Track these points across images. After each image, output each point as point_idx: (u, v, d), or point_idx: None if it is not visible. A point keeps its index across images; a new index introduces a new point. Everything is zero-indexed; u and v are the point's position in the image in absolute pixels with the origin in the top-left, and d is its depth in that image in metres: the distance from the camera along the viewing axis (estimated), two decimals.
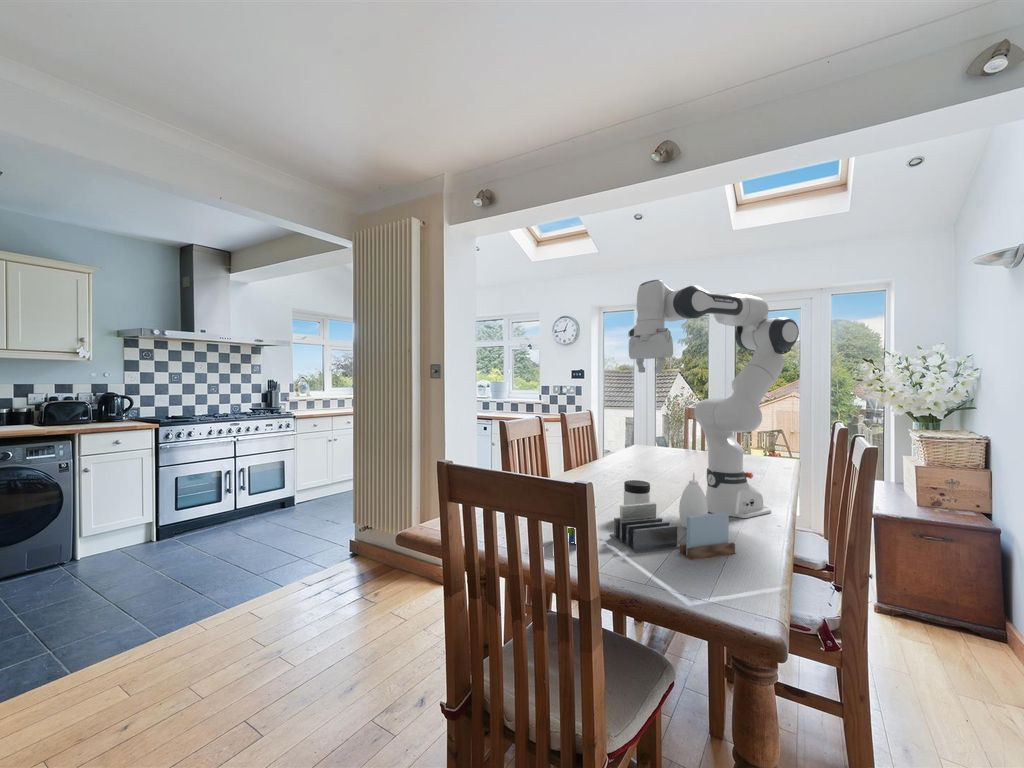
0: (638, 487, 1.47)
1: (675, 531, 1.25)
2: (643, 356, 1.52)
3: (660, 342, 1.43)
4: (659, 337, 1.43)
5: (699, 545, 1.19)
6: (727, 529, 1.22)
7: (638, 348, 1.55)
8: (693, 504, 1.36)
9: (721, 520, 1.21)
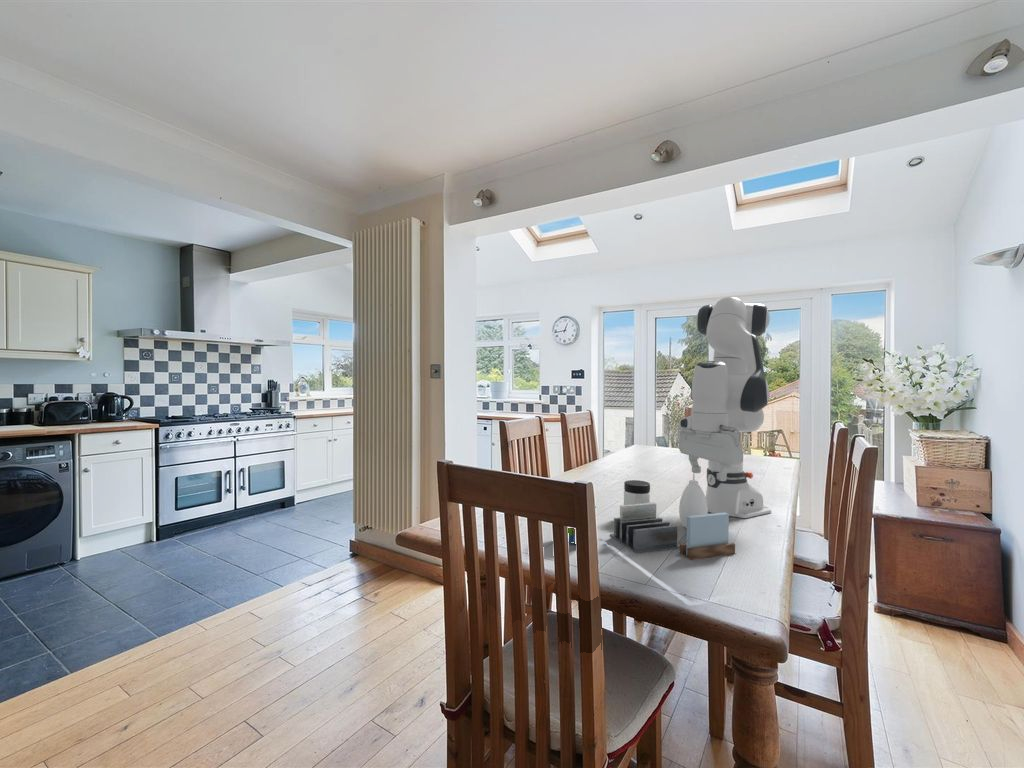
0: (638, 487, 1.47)
1: (675, 531, 1.25)
2: (700, 455, 1.21)
3: (726, 445, 1.12)
4: (724, 439, 1.12)
5: (699, 545, 1.19)
6: (727, 529, 1.22)
7: (692, 443, 1.24)
8: (693, 504, 1.36)
9: (721, 520, 1.21)
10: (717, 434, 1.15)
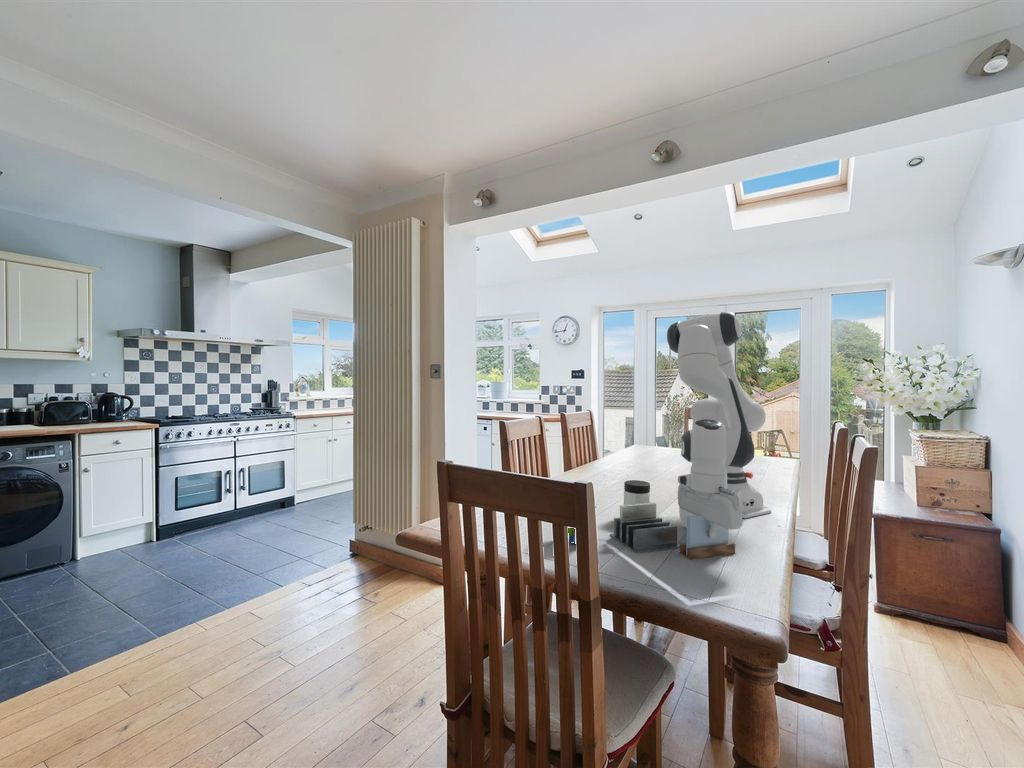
0: (638, 487, 1.47)
1: (675, 531, 1.25)
2: (699, 514, 1.21)
3: (725, 509, 1.12)
4: (723, 502, 1.13)
5: (699, 545, 1.19)
6: (727, 529, 1.22)
7: (691, 501, 1.24)
8: None
9: None
10: (716, 496, 1.15)
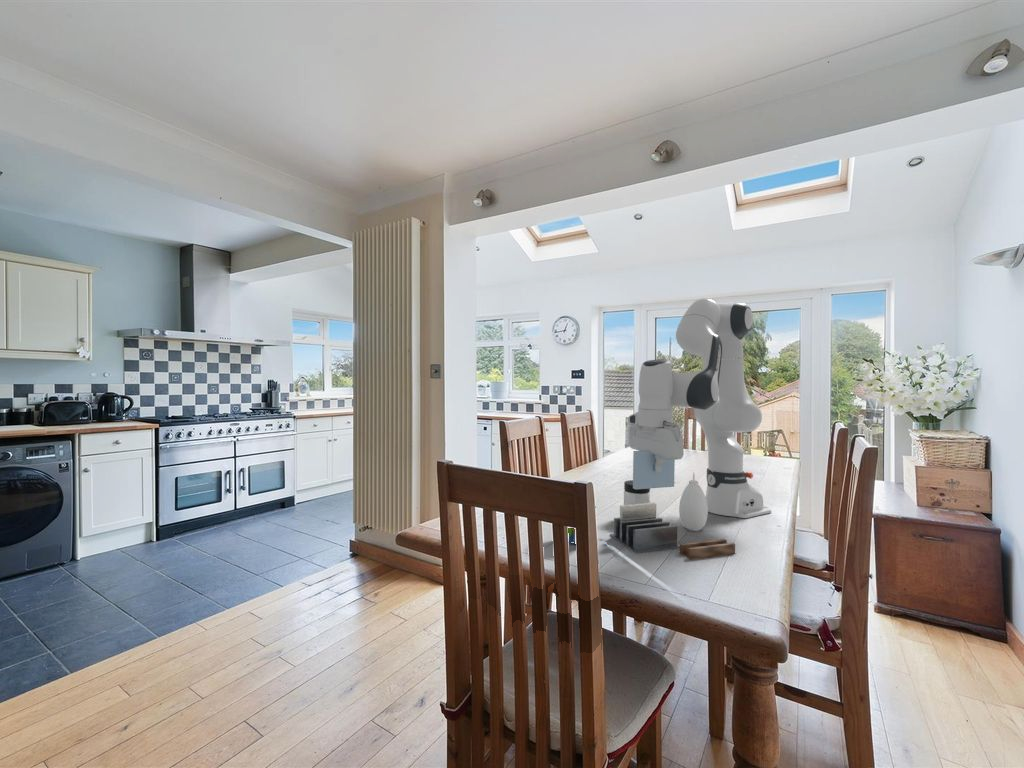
0: None
1: (675, 531, 1.25)
2: None
3: (667, 440, 1.17)
4: (666, 434, 1.17)
5: (645, 479, 1.23)
6: (673, 465, 1.26)
7: (640, 439, 1.28)
8: (693, 504, 1.36)
9: None
10: (660, 429, 1.19)
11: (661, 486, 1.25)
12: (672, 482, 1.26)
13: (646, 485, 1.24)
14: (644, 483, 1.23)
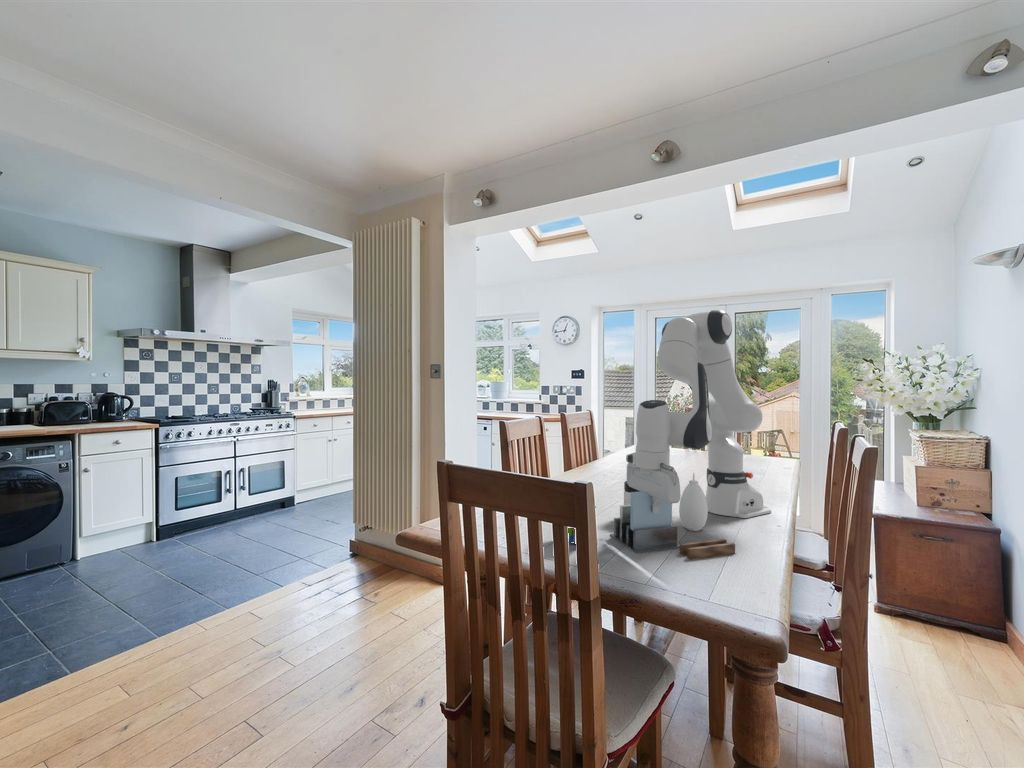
0: None
1: (675, 531, 1.25)
2: (644, 490, 1.26)
3: (664, 484, 1.17)
4: (663, 478, 1.18)
5: (642, 520, 1.24)
6: (670, 505, 1.26)
7: (637, 478, 1.29)
8: (693, 504, 1.36)
9: None
10: (657, 472, 1.20)
11: (658, 526, 1.26)
12: (669, 522, 1.27)
13: (643, 526, 1.24)
14: (642, 524, 1.24)
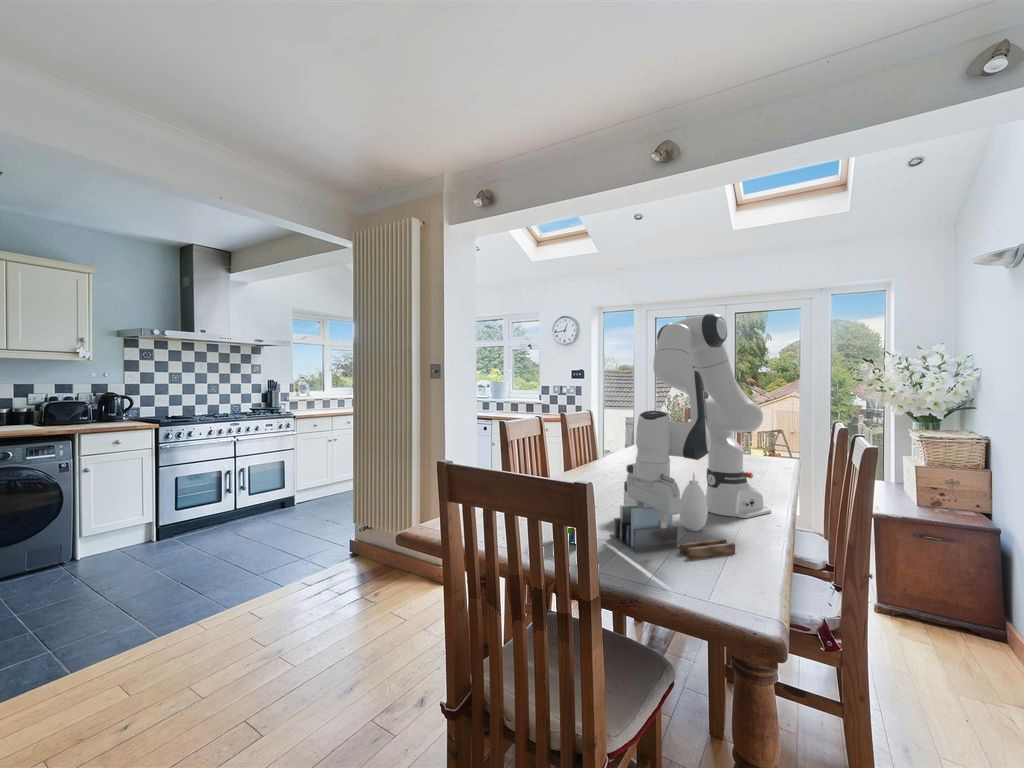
0: None
1: (675, 531, 1.25)
2: (644, 501, 1.26)
3: (664, 495, 1.17)
4: (663, 489, 1.18)
5: None
6: (671, 521, 1.27)
7: (638, 489, 1.29)
8: (693, 504, 1.36)
9: None
10: (658, 483, 1.20)
11: None
12: None
13: None
14: None
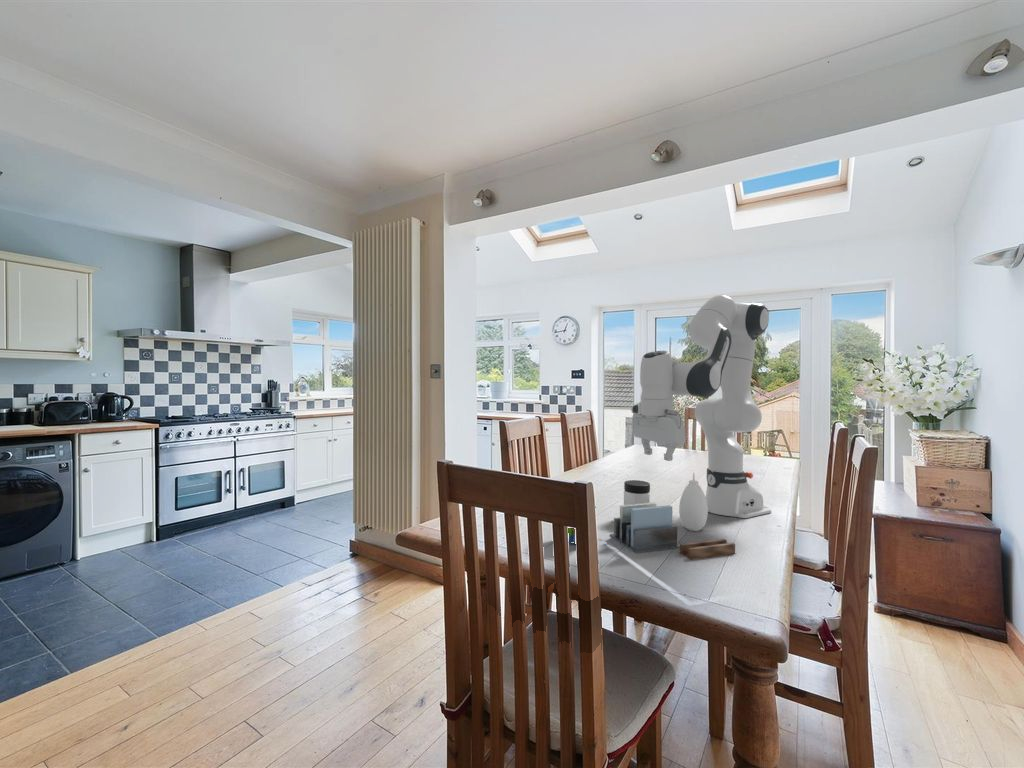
0: (638, 487, 1.47)
1: (675, 531, 1.25)
2: (649, 438, 1.31)
3: (669, 428, 1.22)
4: (668, 422, 1.23)
5: None
6: (671, 521, 1.27)
7: (643, 427, 1.34)
8: (693, 504, 1.36)
9: (665, 512, 1.26)
10: (662, 418, 1.25)
11: None
12: None
13: None
14: None
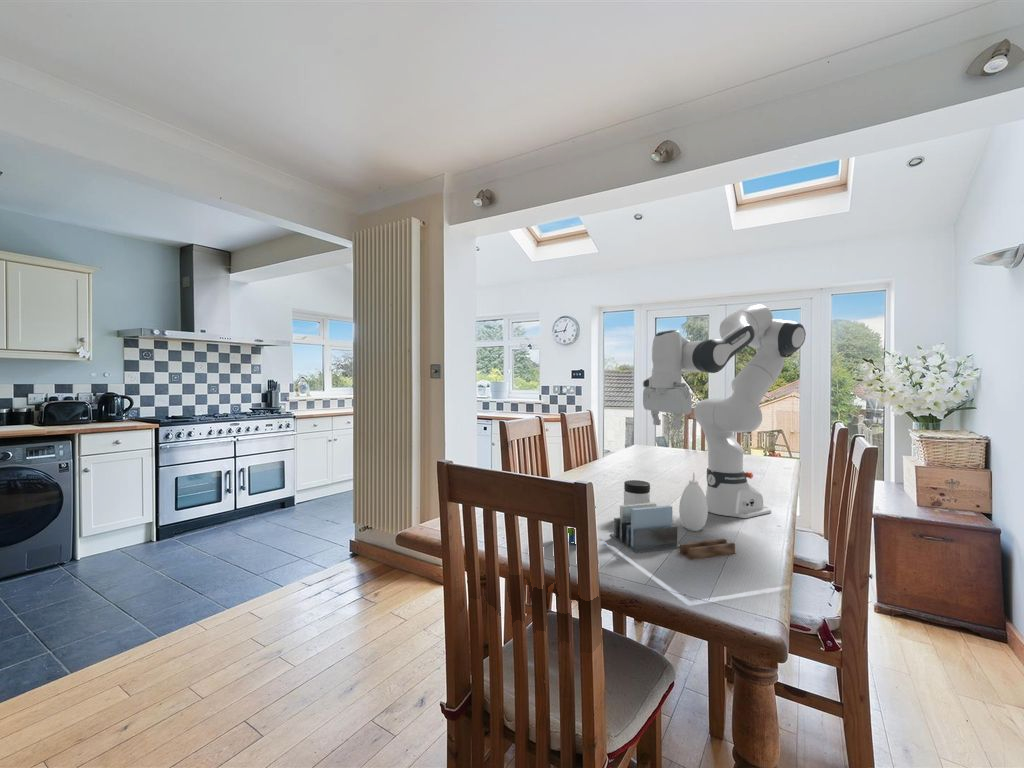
0: (638, 487, 1.47)
1: (675, 531, 1.25)
2: (659, 409, 1.44)
3: (677, 398, 1.36)
4: (676, 393, 1.36)
5: None
6: (671, 521, 1.27)
7: (653, 400, 1.47)
8: (693, 504, 1.36)
9: (665, 512, 1.26)
10: (671, 389, 1.39)
11: None
12: None
13: None
14: None
